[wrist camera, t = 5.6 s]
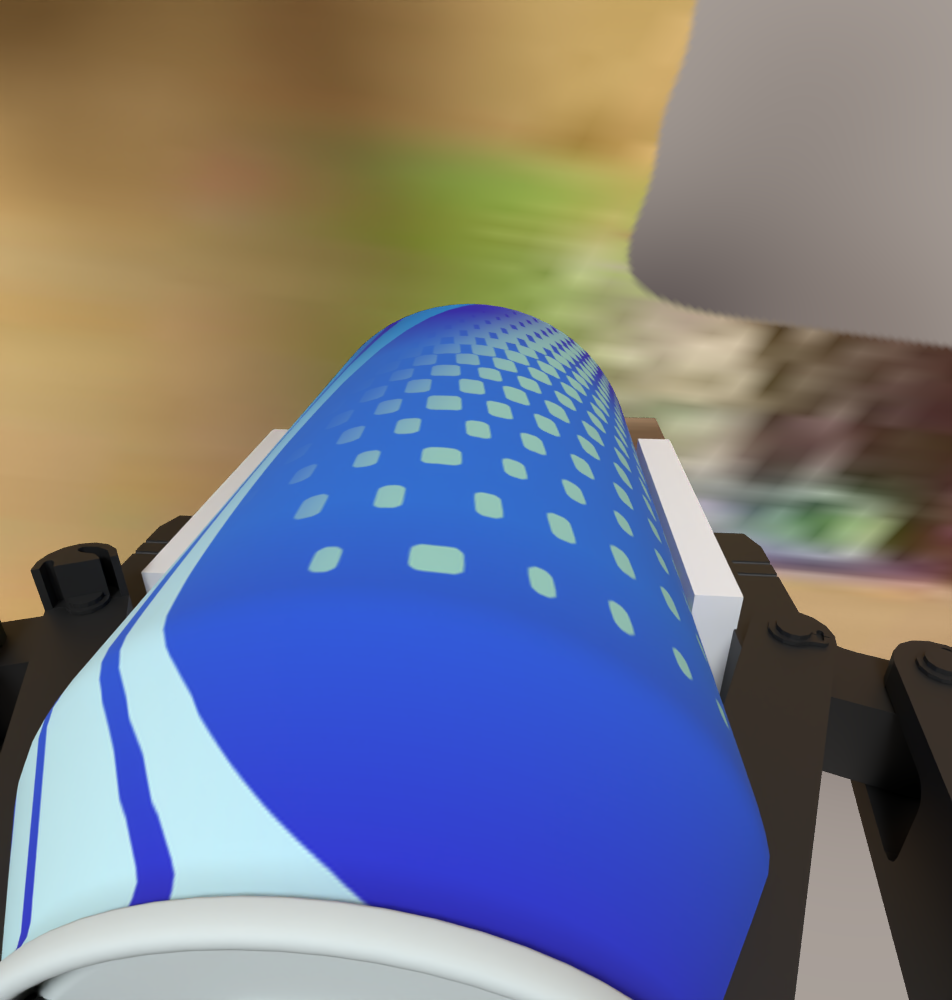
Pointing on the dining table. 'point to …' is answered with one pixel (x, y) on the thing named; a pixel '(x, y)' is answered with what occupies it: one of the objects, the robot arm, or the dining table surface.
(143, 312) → the dining table surface
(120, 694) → the beer can
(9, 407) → the dining table surface
